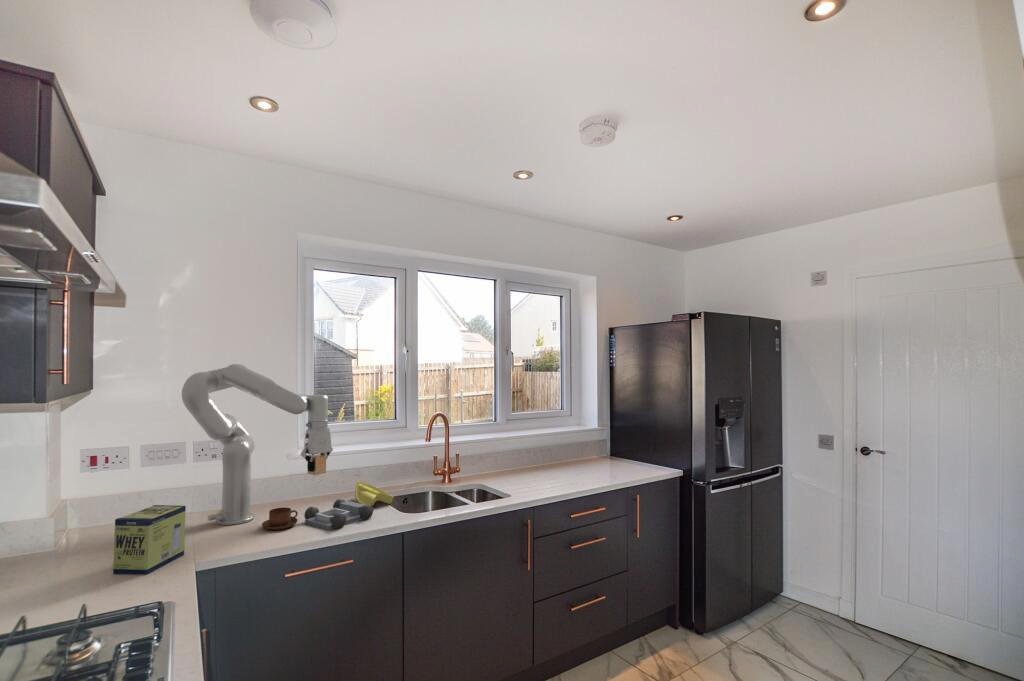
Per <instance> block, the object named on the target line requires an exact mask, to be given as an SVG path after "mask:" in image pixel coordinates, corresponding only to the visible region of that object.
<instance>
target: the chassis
mask: <svg viewBox="0 0 1024 681" xmlns="http://www.w3.org/2000/svg"><path fill="white" fill-rule="evenodd" d="M373 514H374V508H373V506H370V505H364V504H360V503H359V502H354V501H351V500H350V501H349V500H344V499H341V498H337V499H336V500H334V502H333V505H332V508H330V509H326V510H324V511H320V509H319V508H318V507H316V506H309V507H307V508H306V509H305V511H304V515H303V516H304V524H306V525H308V526H313V527H316V528H320V529H323V530H327V531H331V530H334V529H342V528H343V527H344V526H347V525H349V524H352V523H355V522H359V521H361V520H369V519H371V518H372V516H373Z"/></svg>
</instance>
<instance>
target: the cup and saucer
mask: <svg viewBox="0 0 1024 681" xmlns="http://www.w3.org/2000/svg"><path fill="white" fill-rule="evenodd" d="M268 512H269V514H268V519H266V520H264V521H263V522H261V526H262V528H264V529H266V530H273V531H274V530H277V531H279V530H284V529H288V528H291V527H293V526H295V525H296V524H297V523H298V519H297V516H298V515H299V514H298V511H297V510H296V509H294V510H293V509H291V508H290V507H276V508H273V509H270V510H269V511H268ZM292 513H295V515H294V516H292Z"/></svg>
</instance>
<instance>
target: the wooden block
mask: <svg viewBox="0 0 1024 681" xmlns="http://www.w3.org/2000/svg"><path fill="white" fill-rule="evenodd" d="M310 457H311V456H310ZM313 462H314V471H313V472H310V471H308V470H307V475H312V476H318V475H323V474H326V473H327V459H326V456H325V455H320V454H314V458H313Z"/></svg>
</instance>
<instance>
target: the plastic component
mask: <svg viewBox="0 0 1024 681" xmlns="http://www.w3.org/2000/svg"><path fill="white" fill-rule="evenodd" d="M354 496H355V500H356V501H357V503H359V504H364V505H370V506H372V507H373V506H374V505H375V503H376V502H379V501H380V502H382V503H385V504H388V505H390V504H392V503H393V500H394V498H395V497H394V496H393V495H391V494H389V493H387V492H386V491H384V490H382V489H380V488H378V487H377V486H374V485H371V484H370V483H366V482H363V481H361V480H358V481H357V482H356V486H355V490H354Z"/></svg>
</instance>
